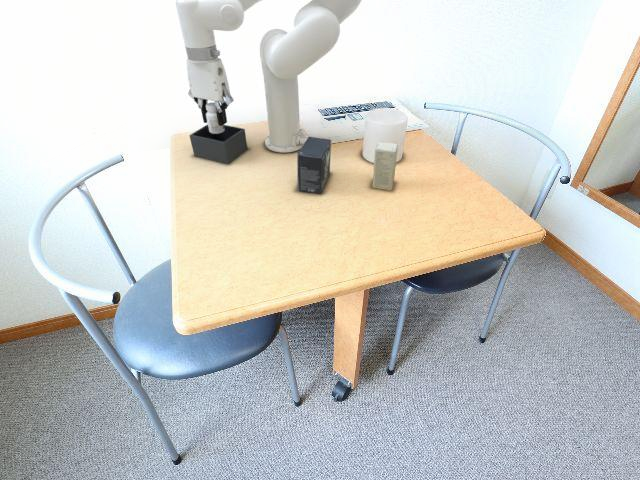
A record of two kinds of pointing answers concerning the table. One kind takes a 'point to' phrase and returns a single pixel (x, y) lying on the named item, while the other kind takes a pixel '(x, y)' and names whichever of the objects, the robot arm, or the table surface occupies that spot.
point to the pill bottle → (213, 119)
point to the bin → (219, 144)
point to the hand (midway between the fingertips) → (215, 122)
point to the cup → (384, 130)
